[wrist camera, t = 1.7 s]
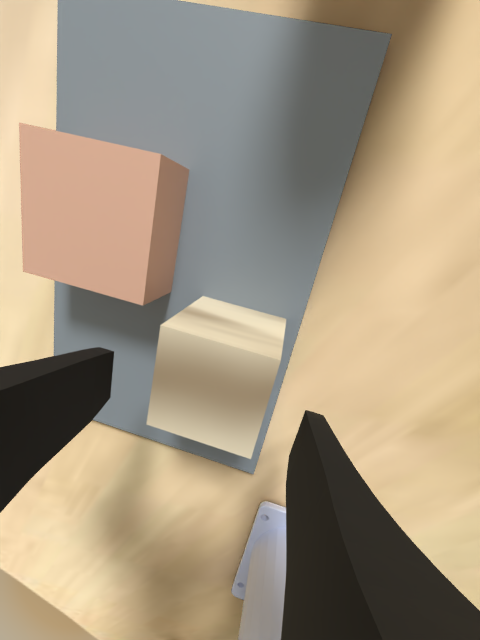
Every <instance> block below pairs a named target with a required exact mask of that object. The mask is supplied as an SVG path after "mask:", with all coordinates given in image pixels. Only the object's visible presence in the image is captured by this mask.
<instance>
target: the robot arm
mask: <svg viewBox="0 0 480 640" xmlns="http://www.w3.org/2000/svg"><path fill="white" fill-rule="evenodd" d="M113 361H114V351H111V350H108V349H104V348H101V347H95V348H89V349H84V350H79V351H74V352H70V353H66V354H61V355H57V356H52V357H48V358H44V359H39V360H35V361H30V362H25V363H20V364H15V365H10V366H5V367H0V513H1V511H2V510H3V509H4V508H5V507H6V506H7V505H8V503H9V502H10V501H11V500H12V499H13V498H14V497H15V496H16V494H17V493H18V492H19V491H20V490H21V489H22V488H23V487H24V485H25V484H26V483H27V482H28V481H29V480H30V479H31V478H32V477H33V476H34V475H35V474H36V473H37V472H38V471H39V470H40V469H41V468H42V467H43V466H44V465H45V464H46V463H47V462H48V461H49V460H51V459H52V458H53V457H54V456H55V455H56V454H57V453H58V452H59V451H60V450H61V449H62V448H63V447H64V446H65V445H67V444H68V443H69V442H70V441H71V440H72V439H73V438H74V437H75V436H76V435H77V434H78V433H79V432H80V431H81V430H82V429H83V428H84V427H85V426H87V425H88V424H89V423H90V422H91V421H92V420H93V418H94V417H95V416H96V415H97V414H98V413H99V411H100V410H101V409H102V408H103V406H104V405H105V404H106V403H107V401H108V400H109V399H110V396H111V384H112V373H113ZM231 592H232V594H233V595H234V596H235V597H237V598H240V599H242V600H244V602H243V609H242V615H241V622H240V629H239V635H238V640H480V611H479V610H478V609H477V608H476V607H475V606H474V605H473V604H472V603H471V602H470V601H469V600H468V599H467V598H466V597H465V596H464V595H463V594H462V593H461V592H460V591H459V590H458V589H457V588H456V587H455V586H454V585H453V584H452V583H451V582H450V581H449V580H448V579H447V578H446V577H445V576H444V575H443V574H442V573H441V572H440V571H439V570H438V569H437V568H436V567H435V566H434V565H433V563H432V562H431V561H430V560H429V559H428V558H427V557H426V556H425V555H424V554H423V553H422V552H421V550H420V549H419V548H418V547H417V546H416V545H415V544H414V543H413V542H412V541H411V539H410V538H409V537H408V536H407V535H406V534H405V533H404V531H403V530H402V529H401V528H400V527H399V525H398V524H397V523H396V522H395V521H394V519H393V518H392V517H391V516H390V514H389V513H388V512H387V511H386V509H385V508H384V507H383V506H382V504H381V503H380V502H379V501H378V499H377V498H376V497H375V495H374V494H373V493H372V491H371V490H370V488H369V487H368V486H367V484H366V483H365V481H364V480H363V479H362V477H361V476H360V474H359V473H358V471H357V470H356V468H355V467H354V465H353V464H352V462H351V461H350V459H349V458H348V456H347V454H346V453H345V451H344V450H343V448H342V446H341V445H340V443H339V441H338V440H337V438H336V436H335V434H334V433H333V431H332V429H331V428H330V426H329V424H328V422H327V421H326V419H325V417H324V416H323V415H320V414H317V413H314V412H310V411H307V410H305V413H304V416H303V419H302V422H301V424H300V427H299V430H298V433H297V435H296V438H295V441H294V444H293V447H292V449H291V452H290V455H289V462H288V470H287V480H286V508H285V507H283V506H280V505H277V504H274V503H271V502H267V501H265V502H262V503H261V504H260V506H259V509H258V511H257V514H256V517H255V520H254V523H253V526H252V529H251V532H250V535H249V538H248V541H247V544H246V547H245V550H244V553H243V556H242V559H241V561H240V564H239V567H238V570H237V573H236V576H235V579H234V582H233V585H232V590H231Z"/></svg>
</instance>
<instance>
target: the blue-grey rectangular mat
mask: <svg viewBox="0 0 480 640" xmlns="http://www.w3.org/2000/svg"><path fill="white" fill-rule="evenodd" d="M391 35H392V34H388V33H382V32H376V31H369V30H363V29H357V28H350V27H344V26H337V25H331V24H325V23H318V22H312V21H306V20H299V19H293V18H287V17H280V16H274V15H267V14H261V13H255V12H248V11H242V10H236V9H229V8H223V7H217V6H210V5H204V4H197V3H191V2H185V1H178V0H58V32H57V122H56V131H59V132H64V133H68V134H73V135H77V136H82V137H86V138H91V139H96V140H100V141H105V142H109V143H114V144H118V145H123V146H127V147H132V148H136V149H141V150H145V151H150V152H154V153H159V154H162V155H164V156H166V157H167V158H169V159H171V160H173V161H175V162H176V163H178V164H180V165H182V166H184V167H185V168H187V169H189V176H188V183H187V190H186V196H185V203H184V210H183V216H182V223H181V230H180V236H179V243H178V250H177V257H176V263H175V270H174V277H173V283H172V290H171V292H170V293H168V294H166V295H164V296H162V297H160V298H158V299H156V300H154V301H152V302H150V303H147V304H145V305H139V304H136V303H132V302H129V301H125V300H122V299H118V298H115V297H111V296H107V295H104V294H100V293H97V292H93V291H90V290H86V289H83V288H79V287H76V286H72V285H69V284H65V283H62V282H58V281H55V301H54V356H57V355H61V354H66V353H70V352H74V351H79V350H84V349H89V348H95V347H101V348H104V349H108V350H111V351H114V361H113V373H112V384H111V396H110V399H109V400H108V401H107V403H106V404H105V405H104V406H103V408H102V409H101V410H100V411H99V413H98V414H97V415H96V416H95V417H94V418H93V420H95V421H98V422H101V423H104V424H107V425H110V426H113V427H115V428H118V429H121V430H124V431H127V432H130V433H133V434H136V435H139V436H142V437H145V438H148V439H151V440H154V441H157V442H160V443H163V444H166V445H169V446H172V447H174V448H177V449H180V450H183V451H186V452H189V453H192V454H195V455H198V456H201V457H204V458H207V459H210V460H213V461H216V462H219V463H222V464H225V465H228V466H231V467H233V468H236V469H239V470H242V471H245V472H248V473H251V474H254V471H255V468H256V465H257V461H258V458H259V455H260V452H261V449H262V445H263V442H264V439H265V436H266V433H267V430H268V426H269V423H270V420H271V417H272V414H273V411H274V407H275V404H276V401H277V398H278V395H279V391H280V388H281V385H282V382H283V379H284V376H285V372H286V369H287V366H288V363H289V360H290V356H291V353H292V350H293V347H294V344H295V341H296V337H297V334H298V331H299V328H300V325H301V321H302V318H303V315H304V312H305V309H306V306H307V302H308V299H309V296H310V293H311V290H312V287H313V283H314V280H315V277H316V274H317V271H318V267H319V264H320V261H321V258H322V255H323V252H324V248H325V245H326V242H327V239H328V236H329V232H330V229H331V226H332V223H333V220H334V217H335V213H336V210H337V207H338V204H339V201H340V198H341V194H342V191H343V188H344V185H345V182H346V178H347V175H348V172H349V169H350V166H351V163H352V159H353V156H354V153H355V150H356V147H357V143H358V140H359V137H360V134H361V131H362V128H363V124H364V121H365V118H366V115H367V112H368V109H369V105H370V102H371V99H372V96H373V93H374V89H375V86H376V83H377V80H378V77H379V74H380V70H381V67H382V64H383V61H384V58H385V54H386V51H387V48H388V45H389V42H390V39H391ZM202 296H205V297H208V298H212V299H216V300H219V301H223V302H227V303H230V304H234V305H238V306H241V307H245V308H248V309H252V310H256V311H259V312H263V313H267V314H270V315H274V316H278V317H281V318H285V319H286V327H285V334H284V341H283V349H282V356H281V362H280V365H279V368H278V371H277V375H276V378H275V381H274V385H273V388H272V391H271V395H270V398H269V401H268V404H267V408H266V411H265V414H264V418H263V421H262V424H261V427H260V431H259V434H258V437H257V441H256V444H255V447H254V450H253V454H252V457H251V459H249V458H246V457H243V456H240V455H237V454H234V453H231V452H228V451H225V450H222V449H219V448H216V447H213V446H210V445H207V444H204V443H201V442H198V441H195V440H192V439H189V438H186V437H183V436H180V435H177V434H174V433H171V432H168V431H165V430H162V429H159V428H156V427H153V426H150V425H147V417H148V410H149V403H150V396H151V389H152V382H153V374H154V367H155V360H156V353H157V346H158V339H159V332H160V325H162V324H163V323H164V322H166V321H167V320H169V319H170V318H172V317H173V316H175V315H176V314H178V313H179V312H180V311H182V310H183V309H185V308H186V307H188V306H189V305H191V304H192V303H194V302H195V301H196V300H198V299H199V298H201V297H202Z"/></svg>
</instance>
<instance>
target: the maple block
mask: <svg viewBox="0 0 480 640" xmlns="http://www.w3.org/2000/svg"><path fill="white" fill-rule="evenodd" d="M285 327H286V319H285V318H281V317H278V316H274V315H270V314H267V313H263V312H259V311H256V310H252V309H248V308H245V307H241V306H238V305H234V304H230V303H227V302H223V301H219V300H216V299H212V298H208V297H205V296H202V297H201V298H199V299H198V300H196V301H195V302H194V303H192V304H191V305H189V306H188V307H186V308H185V309H183V310H182V311H180V312H179V313H178V314H176V315H175V316H173V317H172V318H170V319H169V320H167V321H166V322H164V323H163V324H162V325H160V332H159V339H158V346H157V353H156V360H155V367H154V374H153V382H152V389H151V396H150V403H149V410H148V417H147V425H150V426H153V427H156V428H159V429H162V430H165V431H168V432H171V433H174V434H177V435H180V436H183V437H186V438H189V439H192V440H195V441H198V442H201V443H204V444H207V445H210V446H213V447H216V448H219V449H222V450H225V451H228V452H231V453H234V454H237V455H240V456H243V457H246V458H249V459H251V457H252V454H253V450H254V447H255V444H256V441H257V437H258V434H259V431H260V427H261V424H262V421H263V418H264V414H265V411H266V408H267V404H268V401H269V398H270V395H271V391H272V388H273V385H274V381H275V378H276V375H277V371H278V368H279V365H280V362H281V356H282V349H283V341H284V334H285Z"/></svg>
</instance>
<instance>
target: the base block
mask: <svg viewBox="0 0 480 640" xmlns="http://www.w3.org/2000/svg"><path fill="white" fill-rule="evenodd" d="M19 134H20V173H21V212H22V251H23V272H27V273H30V274H34V275H37V276H41V277H44V278H48V279H51V280H55V281H58V282H62V283H65V284H69V285H72V286H76V287H79V288H83V289H86V290H90V291H93V292H97V293H100V294H104V295H107V296H111V297H115V298H118V299H122V300H125V301H129V302H132V303H136V304H139V305H145V304H147V303H150V302H152V301H154V300H156V299H158V298H160V297H162V296H164V295H166V294H168V293H170V292H171V290H172V283H173V277H174V270H175V263H176V257H177V250H178V243H179V236H180V230H181V223H182V216H183V210H184V203H185V196H186V190H187V183H188V176H189V169H187V168H185V167H184V166H182V165H180V164H178V163H176V162H175V161H173V160H171V159H169V158H167V157H166V156H164V155H162V154H159V153H154V152H150V151H145V150H141V149H136V148H132V147H127V146H123V145H118V144H114V143H109V142H105V141H100V140H96V139H91V138H86V137H82V136H77V135H73V134H68V133H64V132H59V131H55V130H50V129H46V128H41V127H37V126H32V125H28V124H23V123H19Z"/></svg>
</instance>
